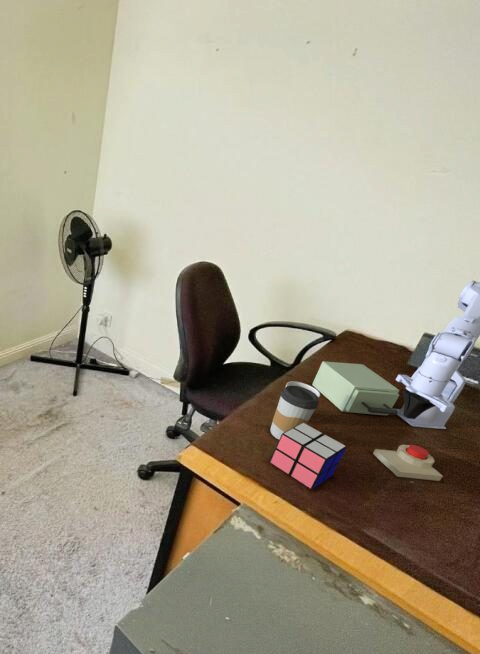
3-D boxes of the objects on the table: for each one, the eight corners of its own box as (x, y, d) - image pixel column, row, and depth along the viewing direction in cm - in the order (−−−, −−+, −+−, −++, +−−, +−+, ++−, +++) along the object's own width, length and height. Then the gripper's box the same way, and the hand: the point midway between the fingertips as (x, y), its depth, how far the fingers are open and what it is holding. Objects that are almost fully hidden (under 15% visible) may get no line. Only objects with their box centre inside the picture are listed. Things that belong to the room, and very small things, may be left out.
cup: (313, 426, 121) (326, 399, 117) (283, 422, 123) (295, 395, 119) (299, 409, 129) (310, 383, 125) (270, 405, 130) (281, 379, 126)
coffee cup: (294, 429, 120) (313, 388, 114) (305, 449, 113) (326, 405, 106) (261, 423, 122) (278, 381, 116) (270, 441, 115) (289, 398, 109)
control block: (412, 455, 111) (419, 446, 110) (443, 481, 104) (450, 471, 102) (370, 451, 113) (375, 441, 111) (397, 476, 105) (403, 466, 103)
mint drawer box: (385, 415, 127) (399, 390, 123) (342, 411, 128) (354, 386, 124) (351, 388, 140) (362, 364, 136) (312, 384, 142) (322, 361, 138)
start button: (417, 450, 109) (420, 445, 108) (429, 460, 106) (432, 455, 105) (402, 449, 109) (405, 444, 109) (414, 459, 106) (417, 454, 105)
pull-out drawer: (399, 424, 122) (412, 403, 119) (358, 421, 123) (369, 400, 120) (355, 389, 138) (365, 370, 135) (319, 386, 139) (328, 367, 136)
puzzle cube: (311, 490, 100) (327, 459, 96) (268, 462, 108) (281, 433, 104) (332, 476, 104) (348, 446, 100) (289, 450, 112) (302, 421, 108)
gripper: (393, 360, 114) (372, 399, 120) (442, 390, 101) (416, 433, 106) (421, 362, 113) (399, 401, 119) (474, 393, 100) (446, 436, 106)
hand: (409, 417), depth 113 cm, fingers closed
